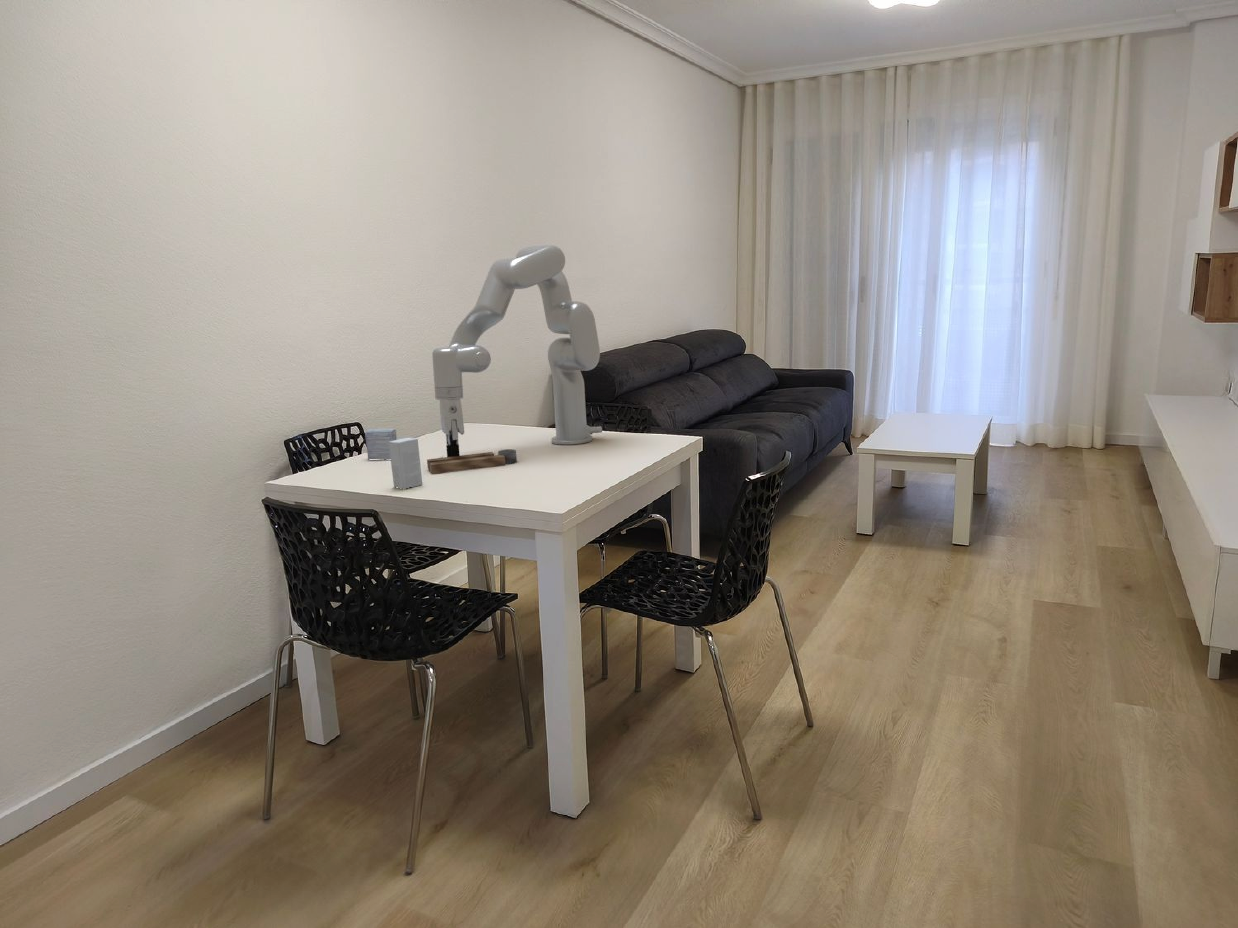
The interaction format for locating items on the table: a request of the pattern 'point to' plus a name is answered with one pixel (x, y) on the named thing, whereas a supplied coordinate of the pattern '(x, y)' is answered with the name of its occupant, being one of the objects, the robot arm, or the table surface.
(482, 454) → the bar
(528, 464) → the table surface
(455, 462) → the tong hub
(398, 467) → the skincare box
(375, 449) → the medicine box
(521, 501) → the table surface
